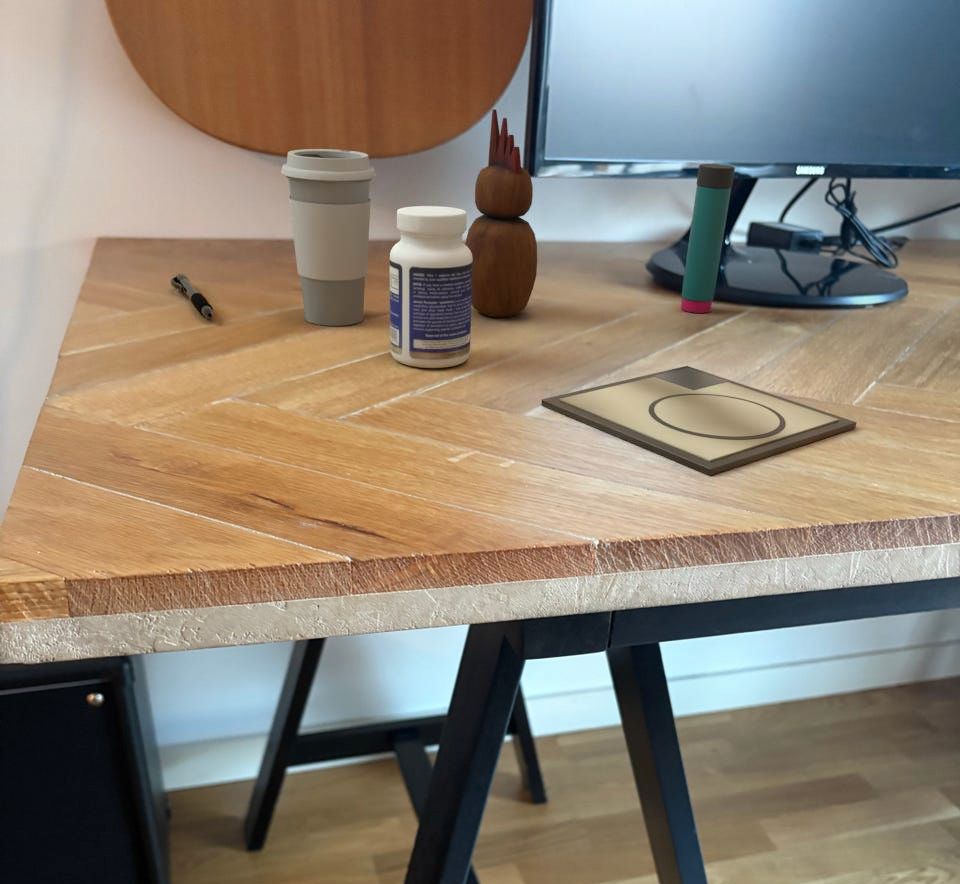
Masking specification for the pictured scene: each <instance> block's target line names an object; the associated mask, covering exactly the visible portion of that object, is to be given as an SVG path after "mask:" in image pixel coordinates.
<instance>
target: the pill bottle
mask: <svg viewBox="0 0 960 884" xmlns="http://www.w3.org/2000/svg"><path fill="white" fill-rule="evenodd" d="M467 214H468V213H467V211H466V210H464V209H462V208H457V207H450V206H440V205H439V206H438V205H417V206H416V205H415V206H414V205H413V206H405V207H401V208H399V209H397V210H396V229H397V230H398V232H399V233H400V240H399V241H398V242H396V243H395V244H394V245H393V246H392V248H391V250H390V253H389V335H390V336H389V337H390V338H389V341H390V353H391V356H392V358H393V359H394V360H395V361H397V362H398V363H400V364H403V365H405V366H409V367H415V368H422V369H443V368H449V367H451V368H452V367H456V366H458V365H461V364H463V363H464V362H466V361H467V360H469V357H470V353H471V332H472V330H471V329H472V305H471V302H472V269H473V258H472V253H471V251H470V249H469V248H468V247H467V246H466V245H465V244H466V243H464V242H463V235H464V234H465V233H466V231H467V229H468V227H467V226H468V225H467V224H468V221H467V216H468V215H467Z"/></svg>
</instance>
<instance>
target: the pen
mask: <svg viewBox="0 0 960 884" xmlns="http://www.w3.org/2000/svg"><path fill="white" fill-rule="evenodd" d="M170 286H172V287H173V288H174V289H176V290H180V293H185V294H186V296H187V297H188V298H189V300H190V302H191V304H192V305H193V307H194V308H195V310H196V311H197V312H198V313H199V315H200V316H201V317H203V318H206V319H211V318H212V317H213V316H214V308H213V306H212V305H211V304H210V302H209V301H208V300H207V298H206V297H205V296H204V295H203V294H202V293H200V292H199V290H197V288H196V287H195V286H194V285H193V283H192V282H191V281H190V279H189V278H188V276H187V275H186V274H185V273H177V274H176V275H175V276H174V277H172V278H171V279H170Z"/></svg>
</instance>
